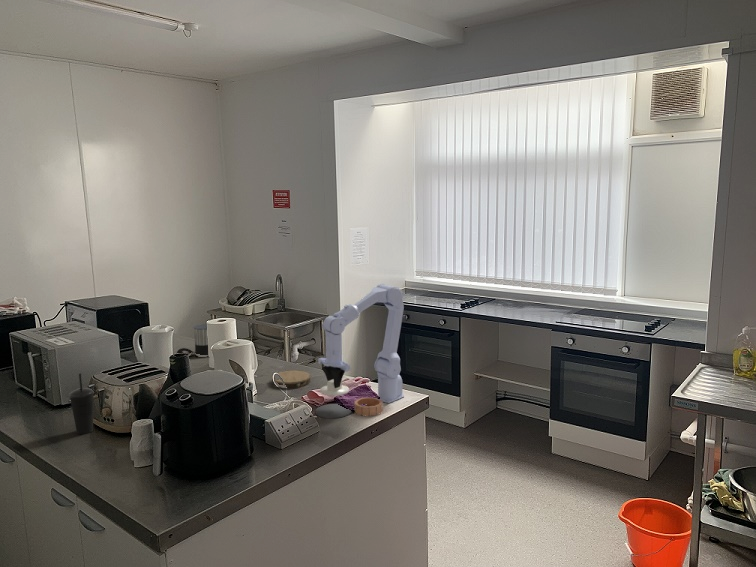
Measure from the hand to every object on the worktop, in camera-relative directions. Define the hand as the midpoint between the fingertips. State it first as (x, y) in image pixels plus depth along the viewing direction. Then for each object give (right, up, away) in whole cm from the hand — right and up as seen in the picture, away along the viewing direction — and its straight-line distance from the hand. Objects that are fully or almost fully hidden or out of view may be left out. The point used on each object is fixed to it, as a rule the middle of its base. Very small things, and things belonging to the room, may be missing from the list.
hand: (334, 386), depth 208 cm
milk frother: (-73, +1, +74) cm, 104 cm away
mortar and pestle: (-37, -8, +11) cm, 40 cm away
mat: (0, -9, +2) cm, 10 cm away
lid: (0, -2, 0) cm, 2 cm away
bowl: (+12, -9, +2) cm, 16 cm away
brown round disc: (-21, -5, +34) cm, 40 cm away
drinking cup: (-82, -13, -15) cm, 85 cm away
